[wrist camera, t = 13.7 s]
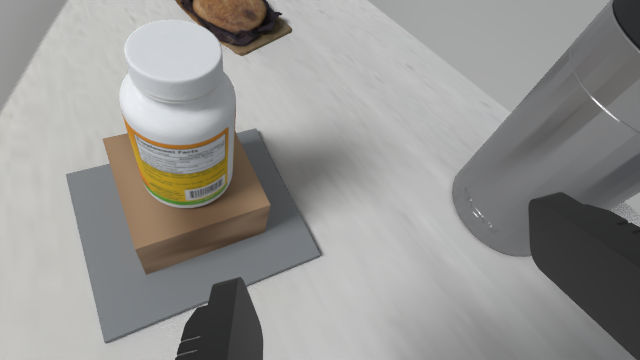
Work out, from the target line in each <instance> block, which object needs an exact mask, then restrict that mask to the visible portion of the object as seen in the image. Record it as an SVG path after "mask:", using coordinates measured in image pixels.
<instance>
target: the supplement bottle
mask: <svg viewBox="0 0 640 360" xmlns="http://www.w3.org/2000/svg"><path fill="white" fill-rule="evenodd" d="M124 52H125V57H126V62H127V66H128V70H129V73H128V74H127V75H126V77H125V78H124V80H123V82H122V85H121V88H120V94H119V101H120V106H121V111H122V115H123V118H124V121H125V125H126V128H127V131H128V135H129V138H130V141H131V145H132V148H133V151H134V155H135V158H136V161H137V165H138V168H139V172H140V175H141V178H142V180H143V183H144V185H145V187H146V189H147V190H148V192H149V193H150V194H151V195H152V196H153V197H154V198H155V199H157V200H158V201H160V202H162V203H164V204H166V205H169V206H172V207H177V208H195V207H200V206H204V205H206V204H209V203H211V202H213V201H214V200H216V199H217V198H219V197H220V196H221V195H222V194H223V193H224V192H225V190H226V189H227V188H228V186H229V184H230V182H231V179H232V174H233V159H234V136H235V117H236V96H235V90H234V87H233V85H232V83H231V81H230V79H229V77H228V76H227V75H226V74H225V73H224V71H223V58H222V48H221V45H220V43H219V41H218V39H217V38H216V37H215V36H214V35H213V34H212V33H211V32H210V31H209V30H207V29H206V28H204V27H202V26H200V25H198V24H195V23H192V22H189V21H184V20H176V19H166V20H157V21H153V22H150V23H147V24H145V25H143V26H140V27H139V28H137V29H136V30H135V31H133V32H132V33H131V34H130V36H129V37H128V39H127V41H126V43H125V51H124Z"/></svg>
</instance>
